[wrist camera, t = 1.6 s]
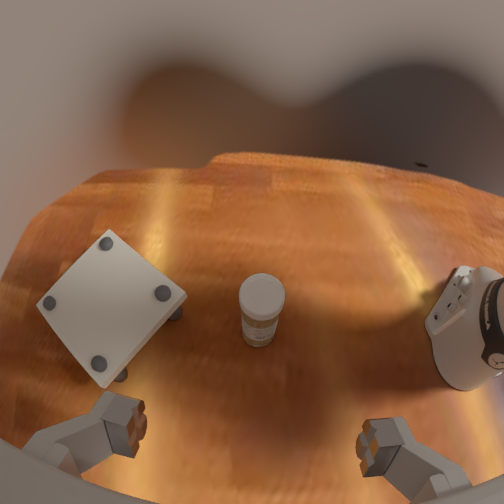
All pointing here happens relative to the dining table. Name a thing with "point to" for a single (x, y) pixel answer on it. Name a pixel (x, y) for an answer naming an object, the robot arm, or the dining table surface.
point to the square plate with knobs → (110, 307)
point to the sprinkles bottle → (260, 308)
